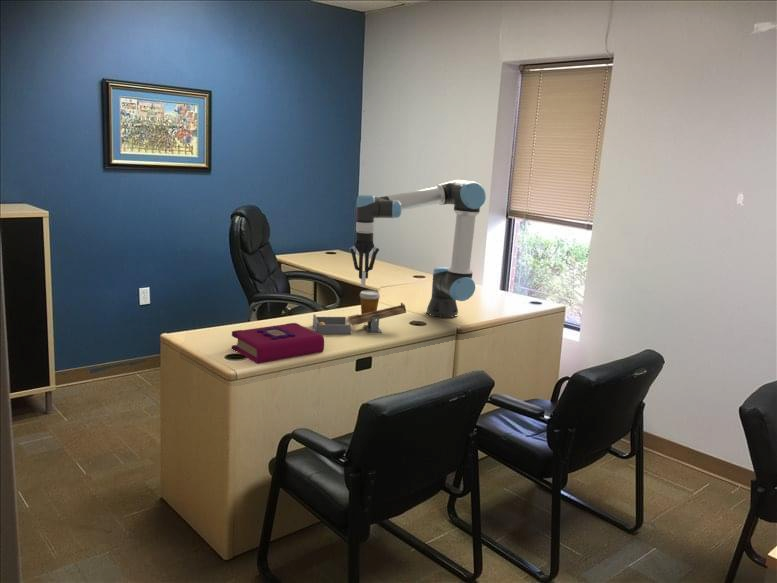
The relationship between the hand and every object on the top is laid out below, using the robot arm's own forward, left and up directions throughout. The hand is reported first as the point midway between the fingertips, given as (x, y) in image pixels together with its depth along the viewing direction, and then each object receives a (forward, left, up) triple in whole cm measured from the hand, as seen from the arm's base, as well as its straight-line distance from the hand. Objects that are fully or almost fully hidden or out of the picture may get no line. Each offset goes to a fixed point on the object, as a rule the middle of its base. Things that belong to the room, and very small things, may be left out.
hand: (363, 285), depth 281 cm
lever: (-6, +5, -12) cm, 14 cm away
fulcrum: (-4, +8, -18) cm, 20 cm away
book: (+38, +36, -18) cm, 55 cm away
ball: (+18, +8, -16) cm, 25 cm away
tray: (+14, +8, -18) cm, 24 cm away
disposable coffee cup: (-6, -12, -18) cm, 23 cm away
